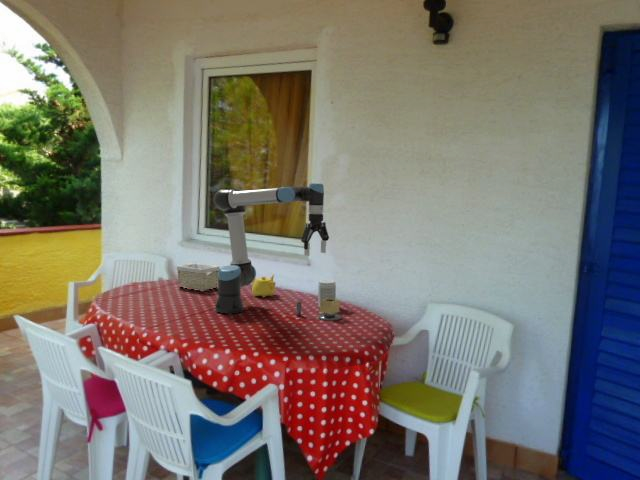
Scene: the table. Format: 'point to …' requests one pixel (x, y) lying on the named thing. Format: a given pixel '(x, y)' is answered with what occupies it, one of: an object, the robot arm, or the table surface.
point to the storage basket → (198, 275)
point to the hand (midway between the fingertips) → (315, 254)
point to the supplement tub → (326, 290)
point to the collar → (329, 306)
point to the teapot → (263, 286)
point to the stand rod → (298, 308)
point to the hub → (329, 317)
